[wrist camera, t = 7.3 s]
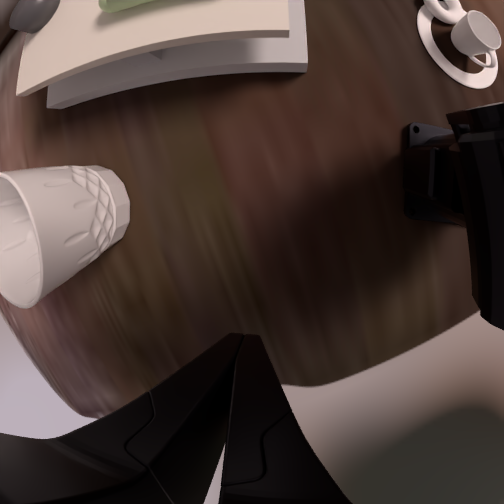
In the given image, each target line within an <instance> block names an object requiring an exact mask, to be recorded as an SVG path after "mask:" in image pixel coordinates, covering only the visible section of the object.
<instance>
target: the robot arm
mask: <svg viewBox="0 0 504 504" xmlns="http://www.w3.org/2000/svg"><path fill="white" fill-rule="evenodd" d="M446 117H447V120H448V122H449V124H451V127H452V130H449V129H445V128H441V127H436V126H432V125H427V124H422V123H417V122H413V123H411V124H409V125H408V129H407V133H408V142H407V149H406V150H405V151H404V175H403V188H404V189H405V191H406V192H405V204H404V214H405V215H406V216H407V217H408V218H410V219H417V220H428V221H439V222H449V223H457V224H459V225H461V226H463V227H465V228H466V229H467V236H468V244H469V253H470V265H471V280H472V296H473V298H474V300H475V302H476V304H477V305H478V307H479V308H480V315H481V317H482V318H484V319H485V320H486V321H487V322H489V323H490V324H492V325H493V326H495V327H498V328H500V329H502V330H504V102H500V103H494V104H489V105H484V106H479V107H475V108H470V109H466V110H461V111H457V112H453V113H448V114H446ZM413 127H416V128H417V133H415V132H414V131H413ZM411 208H413V210H414V211H413V213H412V214H410V213H409V210H410V209H411ZM225 442H226V443H225ZM224 445H225V453H224V461H223V470H222V479H221V490H220V497H219V503H218V504H353V503H352V502H351V501H350V500H349V499H348V498H347V497H346V496H345V494H344V493H343V492H342V490H341V489H340V488H339V486H338V485H337V484H336V482H335V481H334V480H333V478H332V477H331V475H330V474H329V473H328V471H327V470H326V469H325V467H324V466H323V464H322V463H321V461H320V460H319V458H318V457H317V456H316V454H315V453H314V451H313V449H312V448H311V446H310V445H309V443H308V441H307V440H306V438H305V436H304V434H303V433H302V430H301V429H300V426H299V425H298V422H297V420H296V418H295V416H294V414H293V412H292V409H291V407H290V405H289V402H288V400H287V398H286V396H285V393H284V391H283V389H282V386H281V384H280V382H279V380H278V377H277V375H276V373H275V370H274V368H273V366H272V363H271V361H270V359H269V356H268V354H267V352H266V349H265V347H264V344H263V342H262V340H261V337H260V336H259V335H253V334H246V335H245V336H244V334H240V333H229V334H228V335H226V336H225V337H224V338H222V339H221V340H220V341H218V342H217V343H216V344H214V345H213V346H211V347H210V348H209V349H207V350H206V351H205V352H203V353H202V354H200V355H199V356H198V357H196V358H195V359H193V360H192V361H191V362H189V363H188V364H186V365H185V366H183V367H182V368H181V369H179V370H178V371H176V372H175V373H173V374H172V375H171V376H169V377H168V378H166V379H165V380H163V381H162V382H160V383H159V384H157V385H156V386H154V387H153V388H151V389H150V390H149V392H145V393H144V394H142V395H141V396H139V397H138V398H136V399H135V400H133V401H131V402H130V403H128V404H126V405H125V406H123V407H121V408H120V409H118V410H116V411H114V412H112V413H110V414H108V415H106V416H104V417H102V418H100V419H98V420H96V421H94V422H92V423H90V424H88V425H85V426H83V427H81V428H79V429H77V430H74V431H72V432H70V433H68V434H65V435H63V436H60V437H56V438H50V439H34V438H27V437H20V436H14V435H9V434H4V433H0V504H203V503H204V501H205V498H206V496H207V493H208V490H209V487H210V485H211V482H212V479H213V476H214V473H215V471H216V468H217V465H218V462H219V459H220V457H221V454H222V451H223V448H224Z"/></svg>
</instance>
